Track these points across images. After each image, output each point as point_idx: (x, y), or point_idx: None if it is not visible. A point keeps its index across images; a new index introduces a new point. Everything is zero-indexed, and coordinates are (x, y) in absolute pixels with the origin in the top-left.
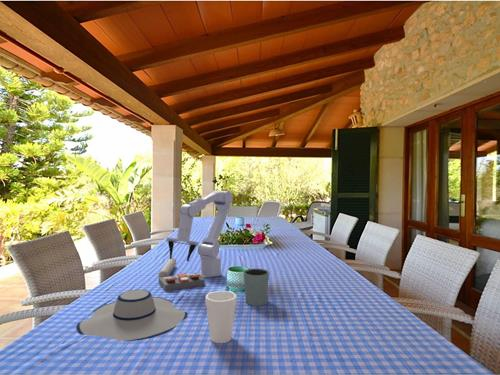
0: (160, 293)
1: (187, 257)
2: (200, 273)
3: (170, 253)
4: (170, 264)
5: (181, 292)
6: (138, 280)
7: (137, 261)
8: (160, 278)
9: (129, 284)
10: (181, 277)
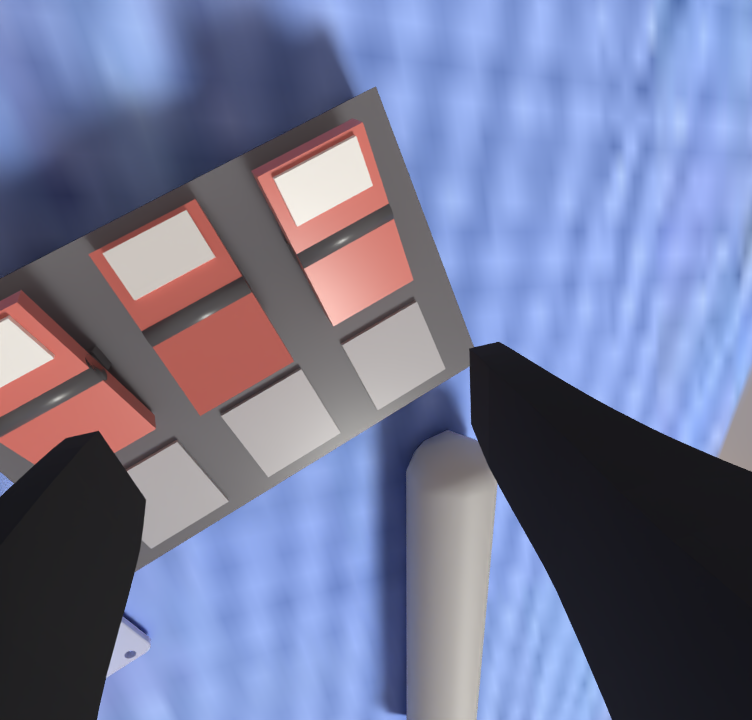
0: (385, 7)
1: (110, 560)
2: (124, 642)
3: (579, 398)
4: (439, 667)
5: (136, 14)
6: (600, 394)
7: None
8: (462, 343)
9: (649, 297)
10: (215, 284)
